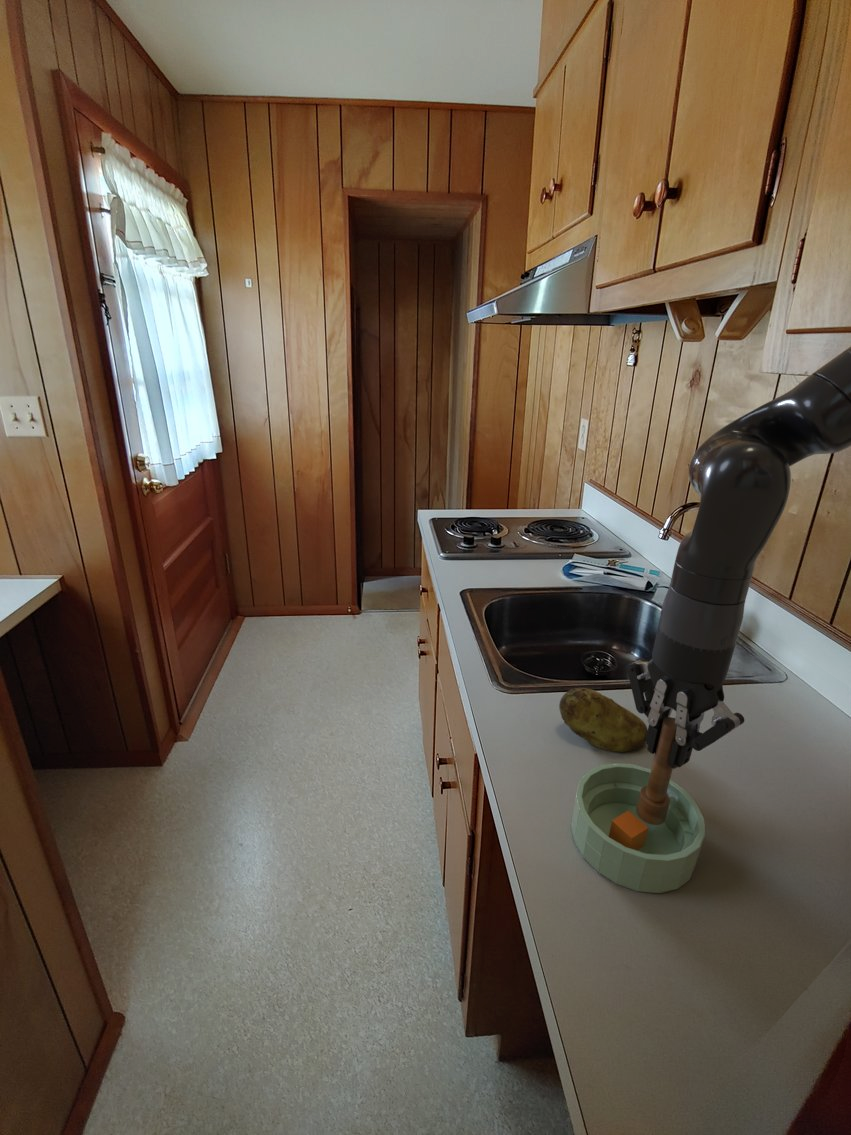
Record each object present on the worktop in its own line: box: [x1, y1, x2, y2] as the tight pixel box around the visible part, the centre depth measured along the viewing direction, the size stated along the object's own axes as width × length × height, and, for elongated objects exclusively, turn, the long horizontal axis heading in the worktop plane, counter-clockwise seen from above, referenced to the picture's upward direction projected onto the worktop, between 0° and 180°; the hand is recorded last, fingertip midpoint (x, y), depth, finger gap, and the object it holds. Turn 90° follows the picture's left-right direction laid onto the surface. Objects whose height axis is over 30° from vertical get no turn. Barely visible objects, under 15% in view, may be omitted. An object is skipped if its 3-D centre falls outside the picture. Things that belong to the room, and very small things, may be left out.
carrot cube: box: [609, 811, 648, 850], centre depth 67 cm, size 3×3×3 cm
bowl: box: [570, 762, 706, 894], centre depth 67 cm, size 14×14×6 cm
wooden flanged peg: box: [636, 716, 677, 825], centre depth 65 cm, size 3×3×14 cm
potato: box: [558, 687, 648, 753], centre depth 84 cm, size 8×13×8 cm, turn 56°
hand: (664, 756), depth 65 cm, fingers closed on wooden flanged peg, 2 cm apart
